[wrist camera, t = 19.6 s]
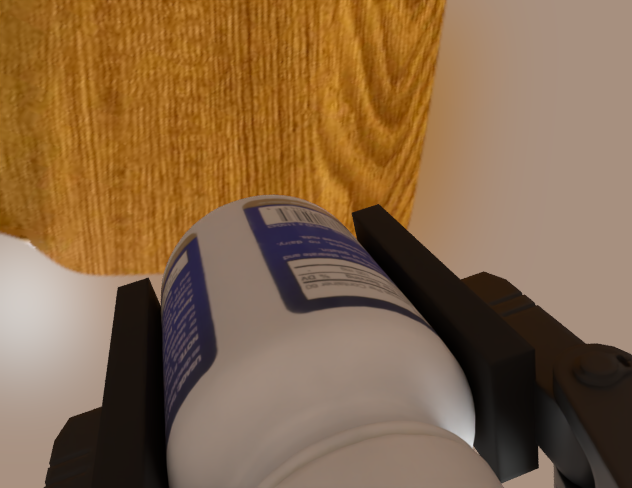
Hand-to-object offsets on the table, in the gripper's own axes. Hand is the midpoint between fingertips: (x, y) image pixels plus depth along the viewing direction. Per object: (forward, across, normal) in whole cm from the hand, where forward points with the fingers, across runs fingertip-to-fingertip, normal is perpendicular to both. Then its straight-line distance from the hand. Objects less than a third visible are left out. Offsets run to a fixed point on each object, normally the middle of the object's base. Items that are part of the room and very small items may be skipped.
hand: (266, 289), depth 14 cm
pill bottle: (0, 0, 0) cm, 0 cm away
